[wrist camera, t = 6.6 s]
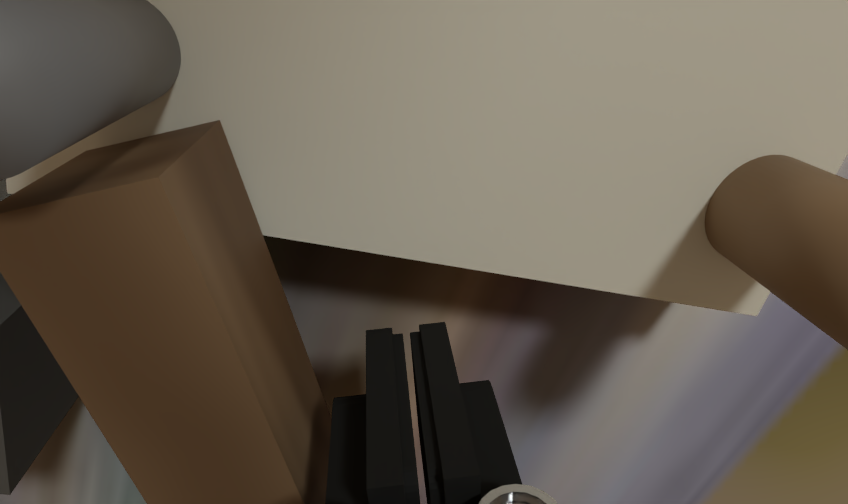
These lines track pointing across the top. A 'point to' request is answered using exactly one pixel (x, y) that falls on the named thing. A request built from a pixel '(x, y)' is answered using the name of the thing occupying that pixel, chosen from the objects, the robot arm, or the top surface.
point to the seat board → (463, 141)
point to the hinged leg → (171, 320)
